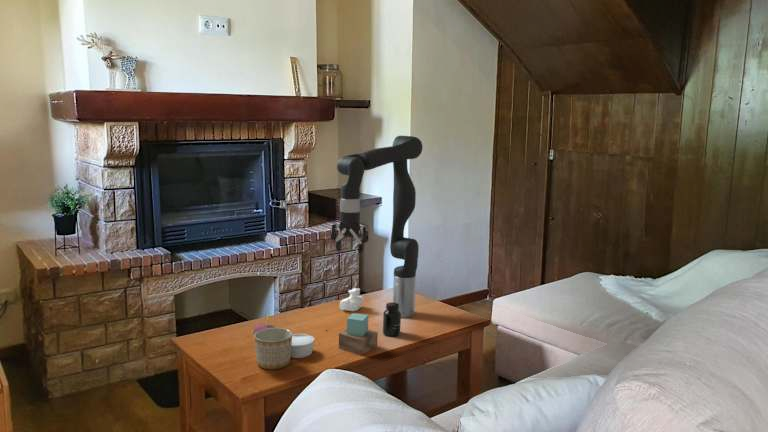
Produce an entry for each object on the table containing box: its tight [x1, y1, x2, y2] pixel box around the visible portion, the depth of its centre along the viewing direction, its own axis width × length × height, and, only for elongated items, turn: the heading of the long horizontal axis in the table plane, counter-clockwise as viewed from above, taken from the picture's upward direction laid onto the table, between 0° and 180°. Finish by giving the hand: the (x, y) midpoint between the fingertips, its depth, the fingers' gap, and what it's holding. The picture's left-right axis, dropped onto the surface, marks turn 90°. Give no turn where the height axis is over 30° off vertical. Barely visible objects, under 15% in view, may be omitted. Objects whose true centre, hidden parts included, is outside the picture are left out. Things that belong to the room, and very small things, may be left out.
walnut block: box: [338, 328, 379, 356], centre depth 220 cm, size 10×10×6 cm
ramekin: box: [290, 333, 316, 359], centre depth 214 cm, size 11×11×5 cm
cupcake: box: [252, 312, 276, 336], centre depth 222 cm, size 9×8×12 cm
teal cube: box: [346, 312, 369, 336], centre depth 219 cm, size 6×6×6 cm
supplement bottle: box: [382, 301, 402, 337], centre depth 234 cm, size 7×7×12 cm
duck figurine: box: [339, 287, 365, 312], centre depth 260 cm, size 12×8×11 cm
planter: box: [253, 327, 293, 370], centre depth 205 cm, size 13×13×10 cm
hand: (349, 252), depth 229 cm, fingers open, 8 cm apart
